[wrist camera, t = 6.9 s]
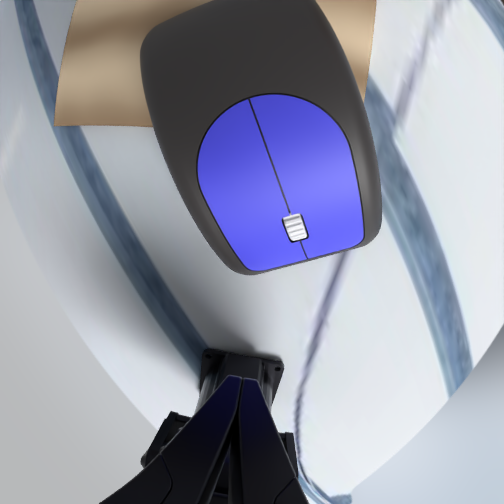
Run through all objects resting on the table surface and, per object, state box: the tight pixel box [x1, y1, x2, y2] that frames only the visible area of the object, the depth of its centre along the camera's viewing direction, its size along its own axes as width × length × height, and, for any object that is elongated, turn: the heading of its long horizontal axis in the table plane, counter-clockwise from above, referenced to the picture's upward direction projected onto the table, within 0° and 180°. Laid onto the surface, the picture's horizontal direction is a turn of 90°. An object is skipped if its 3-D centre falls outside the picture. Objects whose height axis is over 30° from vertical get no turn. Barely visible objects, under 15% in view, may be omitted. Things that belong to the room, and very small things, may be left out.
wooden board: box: [54, 0, 376, 127], centre depth 14 cm, size 12×20×1 cm, turn 81°
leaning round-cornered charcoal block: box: [140, 0, 382, 275], centre depth 14 cm, size 16×5×9 cm
